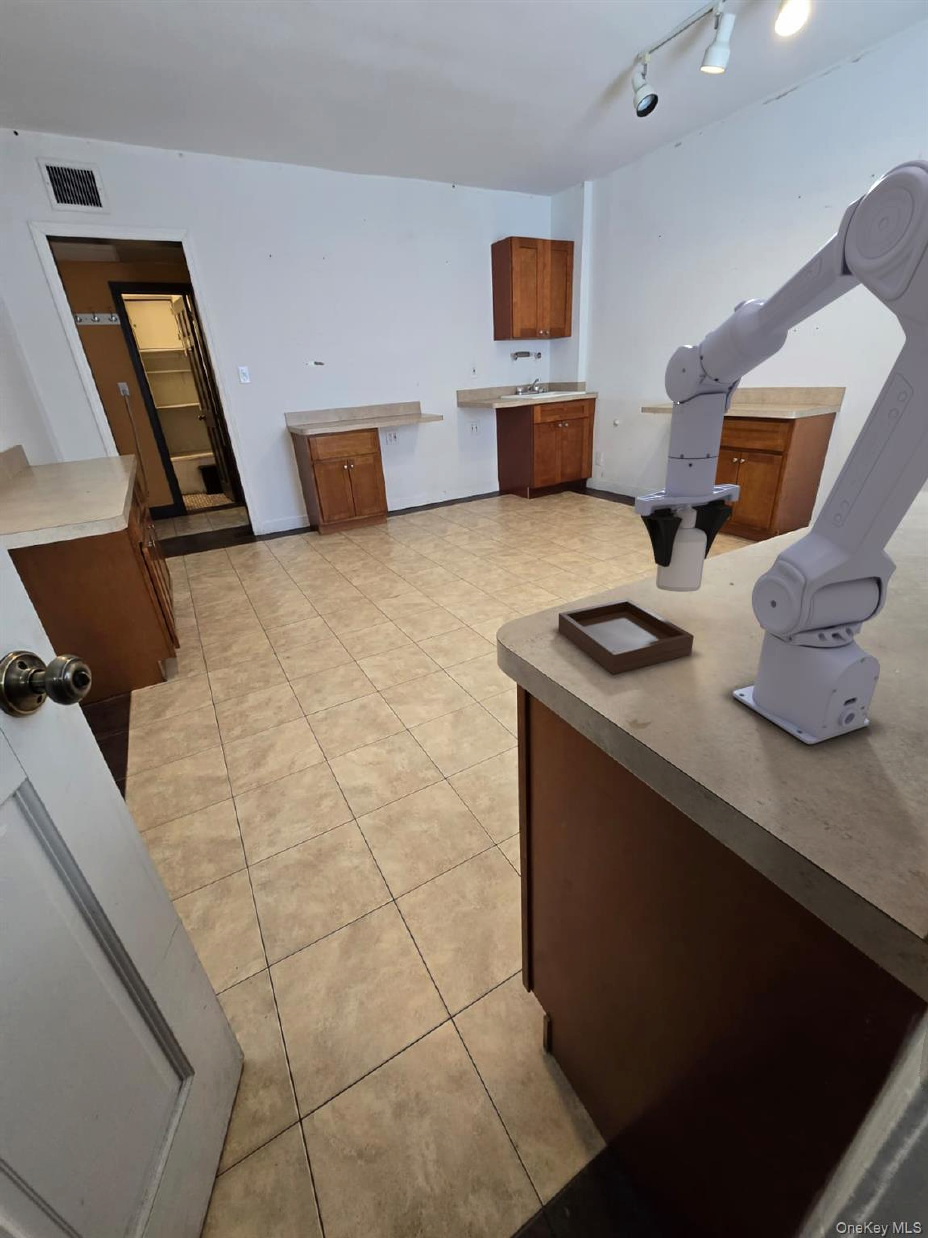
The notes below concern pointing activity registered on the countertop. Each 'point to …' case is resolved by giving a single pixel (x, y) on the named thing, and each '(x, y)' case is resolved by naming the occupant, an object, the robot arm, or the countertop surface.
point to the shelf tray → (624, 635)
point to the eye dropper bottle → (684, 556)
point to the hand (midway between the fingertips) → (680, 561)
